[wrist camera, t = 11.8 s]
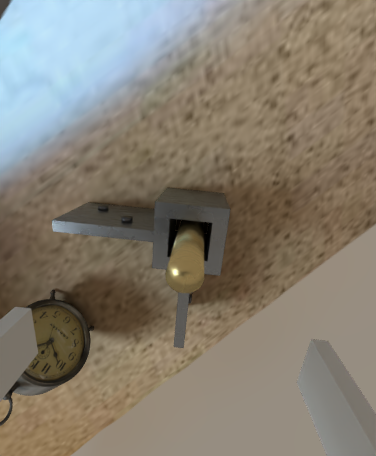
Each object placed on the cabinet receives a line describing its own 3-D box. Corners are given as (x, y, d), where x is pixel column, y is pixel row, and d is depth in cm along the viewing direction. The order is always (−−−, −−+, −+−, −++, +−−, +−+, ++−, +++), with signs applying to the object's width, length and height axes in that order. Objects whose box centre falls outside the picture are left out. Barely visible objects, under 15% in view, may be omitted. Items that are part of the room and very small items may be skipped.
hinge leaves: (93, 294, 36) (64, 333, 29) (87, 179, 30) (48, 190, 23) (207, 307, 36) (208, 351, 28) (223, 193, 30) (230, 209, 22)
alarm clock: (105, 327, 38) (40, 449, 23) (82, 342, 40) (7, 466, 24) (56, 279, 36) (-55, 380, 20) (33, 297, 37) (-86, 403, 22)
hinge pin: (181, 226, 32) (164, 291, 17) (183, 205, 31) (166, 257, 16) (202, 228, 31) (202, 295, 17) (204, 208, 31) (206, 261, 16)
